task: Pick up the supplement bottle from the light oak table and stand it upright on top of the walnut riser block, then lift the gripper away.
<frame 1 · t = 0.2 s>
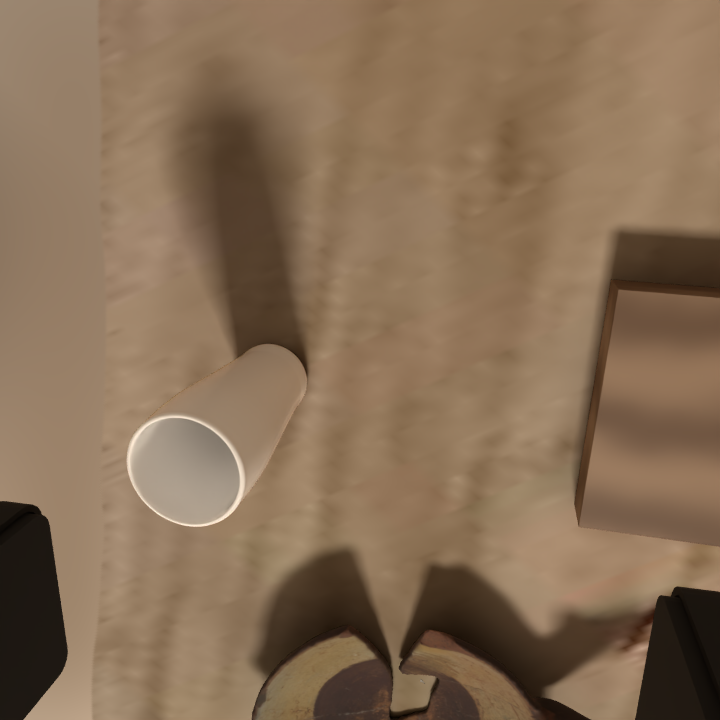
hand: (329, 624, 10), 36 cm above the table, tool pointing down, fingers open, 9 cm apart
olive brown shallow dish: (437, 712, 57), on the table
drinking glass: (274, 375, 50), on the table
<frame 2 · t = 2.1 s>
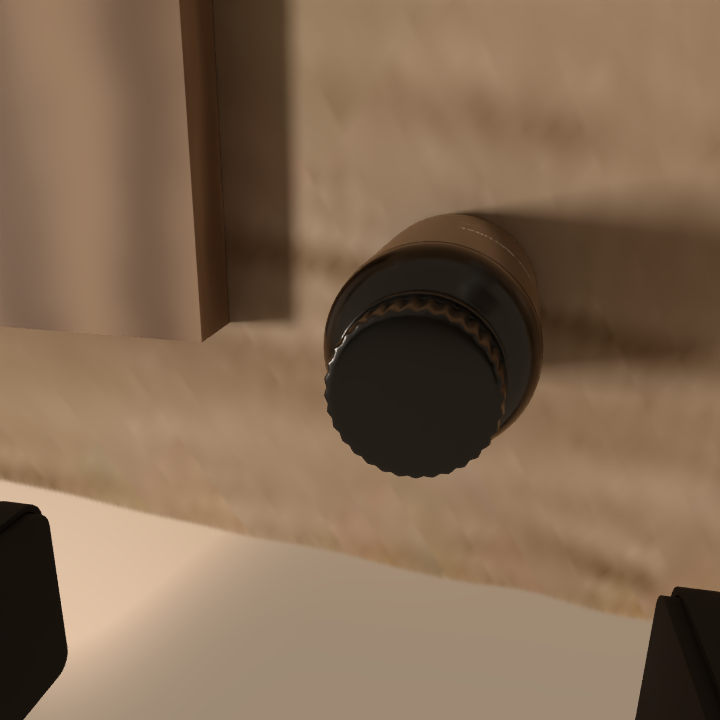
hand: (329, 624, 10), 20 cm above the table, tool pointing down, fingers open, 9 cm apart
walnut riser: (48, 134, 30), on the table
supplement bottle: (452, 291, 29), on the table
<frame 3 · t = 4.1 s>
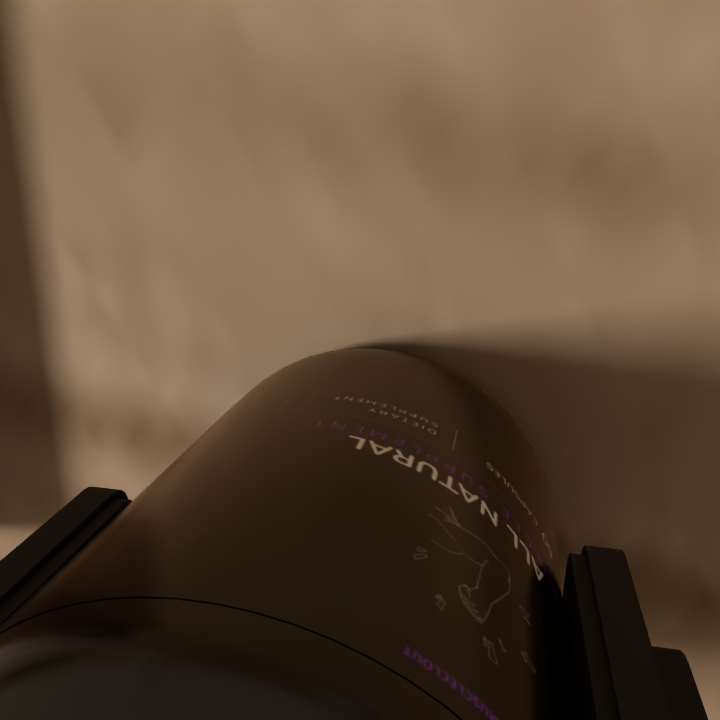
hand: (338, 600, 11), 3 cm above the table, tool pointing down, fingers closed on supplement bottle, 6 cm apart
supplement bottle: (376, 493, 14), on the table, touching gripper
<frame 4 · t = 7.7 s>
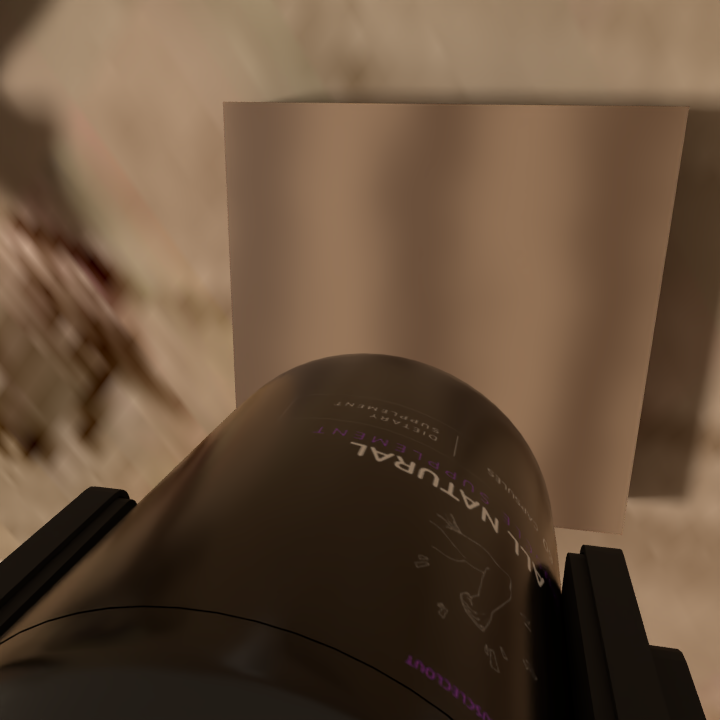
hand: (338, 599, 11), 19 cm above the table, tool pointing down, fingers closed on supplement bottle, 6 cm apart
walnut riser: (437, 308, 29), on the table
supplement bottle: (376, 497, 14), point 16 cm above the table, touching gripper
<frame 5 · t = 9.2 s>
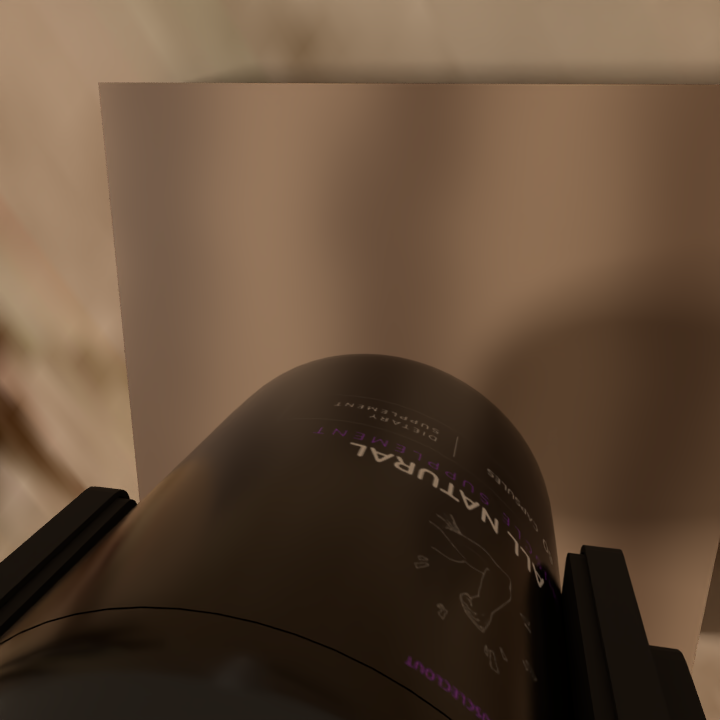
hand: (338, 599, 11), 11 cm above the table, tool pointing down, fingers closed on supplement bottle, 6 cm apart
walnut riser: (422, 374, 21), on the table
supplement bottle: (376, 497, 14), point 7 cm above the table, touching gripper
when the fingers open (8 cm above the table, at t = 10.8 s): supplement bottle drops 1 cm, resting on walnut riser.
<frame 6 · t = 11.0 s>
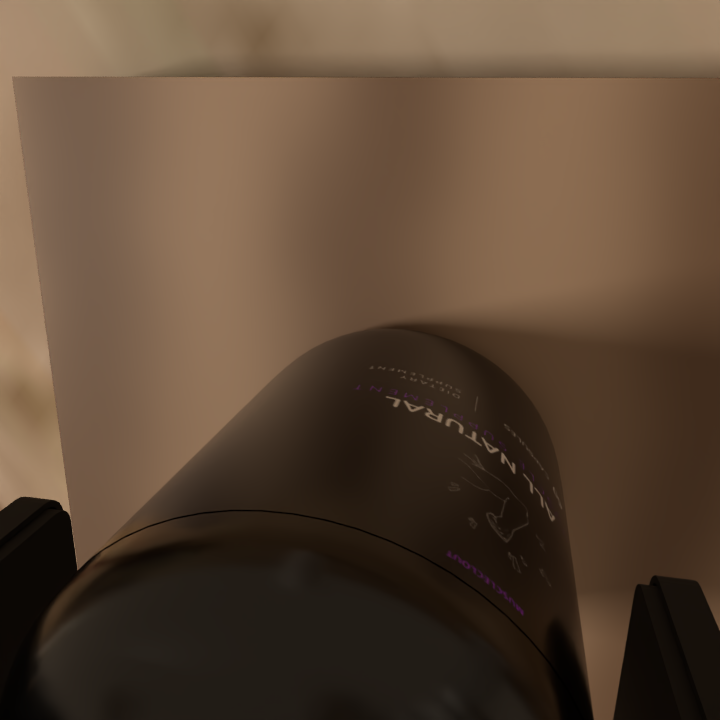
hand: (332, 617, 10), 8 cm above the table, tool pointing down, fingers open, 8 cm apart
walnut riser: (403, 414, 18), on the table
supplement bottle: (398, 463, 15), point 3 cm above the table, touching walnut riser
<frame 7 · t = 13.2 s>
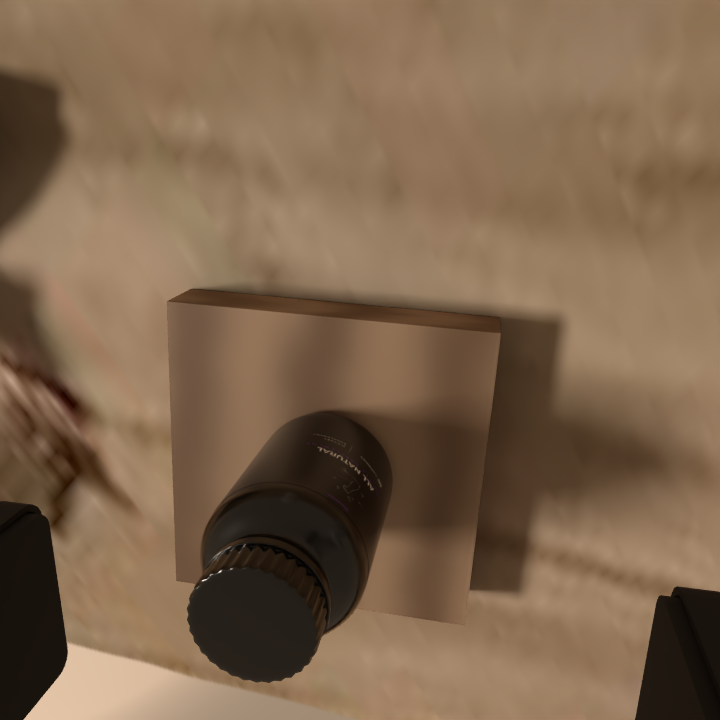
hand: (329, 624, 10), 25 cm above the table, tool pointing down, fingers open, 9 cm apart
walnut riser: (333, 445, 38), on the table
supplement bottle: (327, 468, 35), point 3 cm above the table, touching walnut riser
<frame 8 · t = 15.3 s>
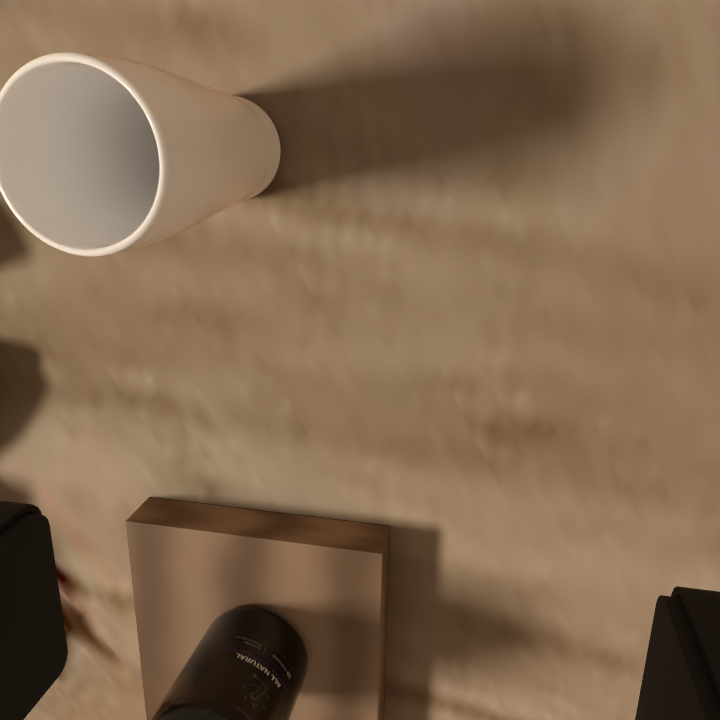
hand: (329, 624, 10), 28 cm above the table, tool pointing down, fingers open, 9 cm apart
walnut riser: (269, 615, 46), on the table
supplement bottle: (259, 645, 44), point 3 cm above the table, touching walnut riser
drinking glass: (237, 149, 37), on the table
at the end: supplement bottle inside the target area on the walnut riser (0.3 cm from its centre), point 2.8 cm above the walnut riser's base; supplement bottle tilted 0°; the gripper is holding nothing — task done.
